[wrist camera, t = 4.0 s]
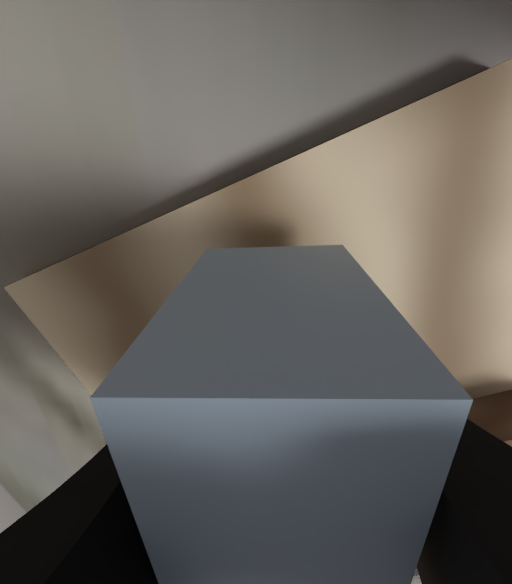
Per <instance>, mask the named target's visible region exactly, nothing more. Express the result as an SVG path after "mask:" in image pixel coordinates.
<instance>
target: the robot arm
mask: <svg viewBox="0 0 512 584" xmlns="http://www.w3.org/2000/svg"><path fill="white" fill-rule="evenodd" d="M416 567H417V570H418V573H419V576H420V579H421V582H422V584H512V447H511V446H510V445H508V444H507V443H505V442H503V441H502V440H500V439H498V438H497V437H495V436H494V435H492V434H490V433H489V432H487V431H486V430H484V429H483V428H481V427H480V426H478V425H476V424H475V423H474V422H472V421H471V420H469V419H468V418H467V420H466V423H465V426H464V428H463V431H462V434H461V437H460V440H459V443H458V446H457V449H456V452H455V455H454V458H453V461H452V464H451V467H450V470H449V473H448V475H447V478H446V481H445V484H444V487H443V490H442V493H441V496H440V499H439V502H438V505H437V508H436V511H435V514H434V517H433V520H432V522H431V525H430V528H429V531H428V534H427V537H426V540H425V543H424V546H423V549H422V552H421V555H420V558H419V561H418V564H417V566H416ZM0 584H159V583H158V581H157V578H156V575H155V572H154V570H153V567H152V564H151V562H150V559H149V556H148V554H147V551H146V548H145V545H144V543H143V540H142V537H141V535H140V532H139V529H138V526H137V524H136V521H135V518H134V516H133V513H132V510H131V508H130V505H129V502H128V499H127V497H126V494H125V491H124V489H123V486H122V483H121V480H120V478H119V475H118V472H117V470H116V467H115V464H114V461H113V459H112V456H111V453H110V451H109V448H108V445H106V446H105V447H104V448H103V449H101V450H100V451H99V452H98V453H97V454H96V455H95V456H94V457H93V458H92V459H91V460H90V461H89V462H87V463H86V464H85V465H84V466H83V467H82V468H81V469H80V470H79V471H77V472H76V473H75V474H74V475H73V476H72V477H70V478H69V479H68V480H67V481H66V482H64V483H63V484H62V485H61V486H60V487H59V488H57V489H56V490H55V491H54V492H53V493H51V494H50V495H49V496H48V497H47V498H45V499H44V500H43V501H41V502H40V503H39V504H38V505H36V506H35V507H34V508H32V509H31V510H30V511H29V512H27V513H26V514H25V515H24V516H22V517H21V518H20V519H18V520H17V521H16V522H15V523H13V524H12V525H11V526H9V527H8V528H7V529H6V530H4V531H3V532H2V533H0Z"/></svg>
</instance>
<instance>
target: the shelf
mask: <svg viewBox="0 0 512 584" xmlns="http://www.w3.org/2000/svg"><path fill="white" fill-rule="evenodd" d="M313 245H343V246H344V247H345V248H346V249H347V251H348V252H349V253H350V254H351V255H352V256H353V258H354V259H355V260H356V261H357V262H358V264H359V265H360V266H361V267H362V268H363V269H364V271H365V272H366V273H367V274H368V275H369V277H370V278H371V279H372V280H373V281H374V283H375V284H376V285H377V286H378V287H379V288H380V290H381V291H382V292H383V293H384V294H385V296H386V297H387V298H388V299H389V300H390V302H391V303H392V304H393V305H394V306H395V307H396V309H397V310H398V311H399V312H400V313H401V315H402V316H403V317H404V318H405V319H406V321H407V322H408V323H409V324H410V325H411V326H412V328H413V329H414V330H415V331H416V332H417V334H418V335H419V336H420V337H421V338H422V340H423V341H424V342H425V343H426V344H427V345H428V347H429V348H430V349H431V350H432V351H433V353H434V354H435V355H436V356H437V357H438V359H439V360H440V361H441V362H442V363H443V364H444V366H445V367H446V368H447V369H448V370H449V372H450V373H451V374H452V375H453V376H454V378H455V379H456V380H457V381H458V382H459V383H460V385H461V386H462V387H463V388H464V389H465V391H466V392H467V393H468V394H469V395H470V396H471V398H472V399H473V402H472V405H471V408H470V411H469V414H468V417H467V418H468V419H469V420H471V421H472V422H474V423H475V424H476V425H478V426H480V427H481V428H483V429H484V430H486V431H487V432H489V433H490V434H492V435H494V436H495V437H497V438H498V439H500V440H502V441H503V442H505V443H507V444H508V445H510V446H511V447H512V59H510V60H507V61H505V62H503V63H501V64H498V65H496V66H494V67H492V68H489V69H487V70H485V71H483V72H480V73H478V74H476V75H474V76H472V77H469V78H467V79H465V80H463V81H460V82H458V83H456V84H454V85H452V86H449V87H447V88H445V89H443V90H440V91H438V92H436V93H434V94H432V95H429V96H427V97H425V98H423V99H420V100H418V101H416V102H414V103H412V104H409V105H407V106H405V107H403V108H400V109H398V110H396V111H394V112H392V113H389V114H387V115H385V116H383V117H380V118H378V119H376V120H374V121H372V122H369V123H367V124H365V125H363V126H360V127H358V128H356V129H354V130H352V131H349V132H347V133H345V134H343V135H340V136H338V137H336V138H334V139H332V140H329V141H327V142H325V143H323V144H320V145H318V146H316V147H314V148H312V149H309V150H307V151H305V152H303V153H301V154H298V155H296V156H294V157H292V158H289V159H287V160H285V161H283V162H281V163H278V164H276V165H274V166H272V167H269V168H267V169H265V170H263V171H261V172H258V173H256V174H254V175H252V176H249V177H247V178H245V179H243V180H241V181H238V182H236V183H234V184H232V185H229V186H227V187H225V188H223V189H221V190H218V191H216V192H214V193H212V194H209V195H207V196H205V197H203V198H201V199H198V200H196V201H194V202H192V203H189V204H187V205H185V206H183V207H181V208H178V209H176V210H174V211H172V212H169V213H167V214H165V215H163V216H161V217H158V218H156V219H154V220H152V221H149V222H147V223H145V224H143V225H141V226H138V227H136V228H134V229H132V230H129V231H127V232H125V233H123V234H121V235H118V236H116V237H114V238H112V239H110V240H107V241H105V242H103V243H101V244H98V245H96V246H94V247H92V248H90V249H87V250H85V251H83V252H81V253H78V254H76V255H74V256H72V257H70V258H67V259H65V260H63V261H61V262H58V263H56V264H54V265H52V266H50V267H47V268H45V269H43V270H41V271H38V272H36V273H34V274H32V275H30V276H27V277H25V278H23V279H21V280H19V281H16V282H14V283H12V284H10V285H8V286H6V287H3V288H4V289H5V290H6V291H7V292H8V294H9V295H10V296H11V297H12V299H13V300H14V301H15V302H16V303H17V305H18V306H19V307H20V308H21V310H22V311H23V312H24V313H25V315H26V316H27V317H28V318H29V319H30V321H31V322H32V323H33V324H34V326H35V327H36V328H37V329H38V330H39V332H40V333H41V334H42V335H43V337H44V338H45V339H46V340H47V341H48V343H49V344H50V345H51V346H52V348H53V349H54V350H55V351H56V353H57V354H58V355H59V356H60V357H61V359H62V360H63V361H64V362H65V364H66V365H67V366H68V367H69V368H70V370H71V371H72V372H73V373H74V375H75V376H76V377H77V378H78V380H79V381H80V382H81V383H82V384H83V386H84V387H85V388H86V389H87V391H88V392H89V393H90V394H91V395H92V394H93V393H94V392H95V390H96V389H97V388H98V387H99V385H100V384H101V383H102V381H103V380H104V379H105V378H106V376H107V375H108V374H109V373H110V371H111V370H112V369H113V367H114V366H115V365H116V364H117V362H118V361H119V360H120V359H121V357H122V356H123V355H124V353H125V352H126V351H127V350H128V348H129V347H130V346H131V345H132V343H133V342H134V341H135V339H136V338H137V337H138V336H139V334H140V333H141V332H142V330H143V329H144V328H145V327H146V325H147V324H148V323H149V322H150V320H151V319H152V318H153V316H154V315H155V314H156V313H157V311H158V310H159V309H160V308H161V306H162V305H163V304H164V302H165V301H166V300H167V299H168V297H169V296H170V295H171V294H172V292H173V291H174V290H175V288H176V287H177V286H178V285H179V283H180V282H181V281H182V279H183V278H184V277H185V276H186V274H187V273H188V272H189V271H190V269H191V268H192V267H193V265H194V264H195V263H196V262H197V260H198V259H199V258H200V257H201V255H202V254H203V253H204V251H205V250H206V249H218V248H250V247H281V246H313Z"/></svg>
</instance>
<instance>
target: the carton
mask: <svg viewBox="0 0 512 584" xmlns="http://www.w3.org/2000/svg"><path fill="white" fill-rule="evenodd" d="M90 399H91V402H92V405H93V407H94V410H95V413H96V415H97V418H98V421H99V424H100V426H101V429H102V432H103V434H104V437H105V440H106V443H107V445H108V448H109V451H110V453H111V456H112V459H113V461H114V464H115V467H116V470H117V472H118V475H119V478H120V480H121V483H122V486H123V489H124V491H125V494H126V497H127V499H128V502H129V505H130V508H131V510H132V513H133V516H134V518H135V521H136V524H137V526H138V529H139V532H140V535H141V537H142V540H143V543H144V545H145V548H146V551H147V554H148V556H149V559H150V562H151V564H152V567H153V570H154V572H155V575H156V578H157V581H158V583H159V584H411V581H412V578H413V575H414V572H415V569H416V566H417V564H418V561H419V558H420V555H421V552H422V549H423V546H424V543H425V540H426V537H427V534H428V531H429V528H430V525H431V522H432V520H433V517H434V514H435V511H436V508H437V505H438V502H439V499H440V496H441V493H442V490H443V487H444V484H445V481H446V478H447V475H448V473H449V470H450V467H451V464H452V461H453V458H454V455H455V452H456V449H457V446H458V443H459V440H460V437H461V434H462V431H463V428H464V426H465V423H466V420H467V417H468V414H469V411H470V408H471V405H472V402H473V399H472V398H471V396H470V395H469V394H468V393H467V392H466V391H465V389H464V388H463V387H462V386H461V385H460V383H459V382H458V381H457V380H456V379H455V378H454V376H453V375H452V374H451V373H450V372H449V370H448V369H447V368H446V367H445V366H444V364H443V363H442V362H441V361H440V360H439V359H438V357H437V356H436V355H435V354H434V353H433V351H432V350H431V349H430V348H429V347H428V345H427V344H426V343H425V342H424V341H423V340H422V338H421V337H420V336H419V335H418V334H417V332H416V331H415V330H414V329H413V328H412V326H411V325H410V324H409V323H408V322H407V321H406V319H405V318H404V317H403V316H402V315H401V313H400V312H399V311H398V310H397V309H396V307H395V306H394V305H393V304H392V303H391V302H390V300H389V299H388V298H387V297H386V296H385V294H384V293H383V292H382V291H381V290H380V288H379V287H378V286H377V285H376V284H375V283H374V281H373V280H372V279H371V278H370V277H369V275H368V274H367V273H366V272H365V271H364V269H363V268H362V267H361V266H360V265H359V264H358V262H357V261H356V260H355V259H354V258H353V256H352V255H351V254H350V253H349V252H348V251H347V249H346V248H345V247H344V246H343V245H313V246H281V247H250V248H218V249H206V250H205V251H204V253H203V254H202V255H201V257H200V258H199V259H198V260H197V262H196V263H195V264H194V265H193V267H192V268H191V269H190V271H189V272H188V273H187V274H186V276H185V277H184V278H183V279H182V281H181V282H180V283H179V285H178V286H177V287H176V288H175V290H174V291H173V292H172V294H171V295H170V296H169V297H168V299H167V300H166V301H165V302H164V304H163V305H162V306H161V308H160V309H159V310H158V311H157V313H156V314H155V315H154V316H153V318H152V319H151V320H150V322H149V323H148V324H147V325H146V327H145V328H144V329H143V330H142V332H141V333H140V334H139V336H138V337H137V338H136V339H135V341H134V342H133V343H132V345H131V346H130V347H129V348H128V350H127V351H126V352H125V353H124V355H123V356H122V357H121V359H120V360H119V361H118V362H117V364H116V365H115V366H114V367H113V369H112V370H111V371H110V373H109V374H108V375H107V376H106V378H105V379H104V380H103V381H102V383H101V384H100V385H99V387H98V388H97V389H96V390H95V392H94V393H93V394H92V396H91V397H90Z"/></svg>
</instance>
